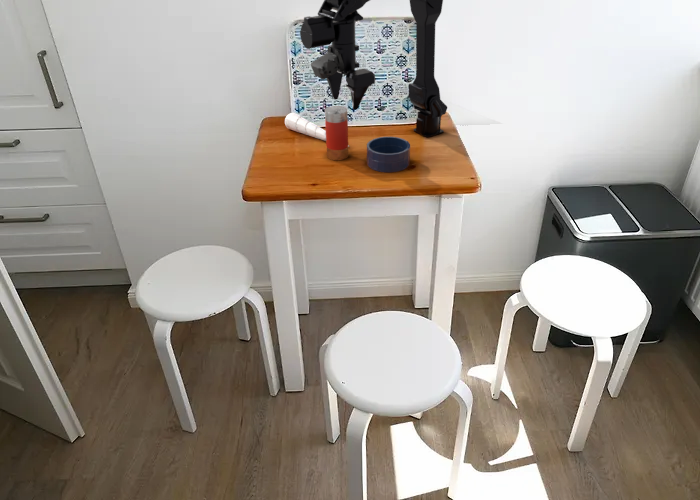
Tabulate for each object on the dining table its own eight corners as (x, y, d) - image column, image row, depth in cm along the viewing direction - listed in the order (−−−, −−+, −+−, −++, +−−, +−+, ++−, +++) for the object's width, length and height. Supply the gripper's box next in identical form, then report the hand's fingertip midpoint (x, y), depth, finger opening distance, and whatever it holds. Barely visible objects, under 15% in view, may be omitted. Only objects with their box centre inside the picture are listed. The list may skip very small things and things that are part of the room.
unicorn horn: (339, 152, 158) (339, 136, 155) (284, 130, 172) (282, 114, 169) (352, 147, 161) (351, 130, 158) (296, 125, 175) (294, 110, 172)
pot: (392, 150, 158) (392, 133, 156) (418, 164, 151) (419, 147, 148) (358, 160, 154) (358, 143, 151) (383, 176, 146) (383, 158, 143)
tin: (341, 149, 160) (339, 104, 152) (352, 156, 156) (351, 110, 148) (322, 154, 157) (320, 108, 150) (334, 162, 153) (332, 115, 146)
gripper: (295, 38, 142) (300, 100, 150) (335, 56, 129) (338, 122, 137) (334, 31, 146) (336, 91, 155) (376, 47, 133) (376, 112, 142)
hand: (345, 104), depth 147 cm, fingers open, 9 cm apart
